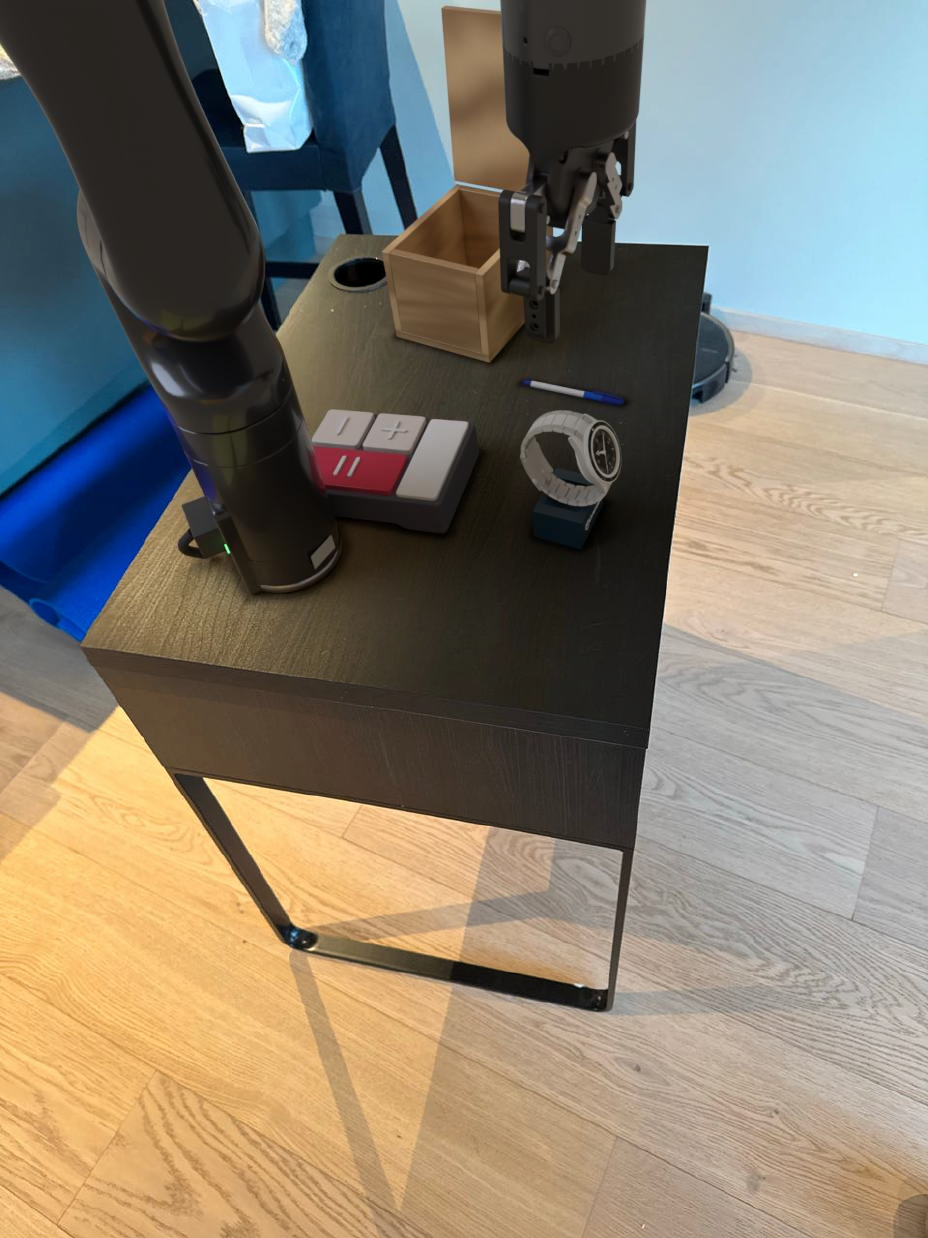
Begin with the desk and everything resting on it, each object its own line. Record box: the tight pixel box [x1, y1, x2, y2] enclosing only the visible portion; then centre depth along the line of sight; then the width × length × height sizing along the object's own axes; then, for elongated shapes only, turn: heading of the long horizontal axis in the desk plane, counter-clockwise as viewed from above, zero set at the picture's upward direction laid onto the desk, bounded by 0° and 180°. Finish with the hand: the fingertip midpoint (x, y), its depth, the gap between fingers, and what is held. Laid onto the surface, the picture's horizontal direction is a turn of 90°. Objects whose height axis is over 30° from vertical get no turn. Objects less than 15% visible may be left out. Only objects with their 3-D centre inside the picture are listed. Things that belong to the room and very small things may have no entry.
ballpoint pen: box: [523, 379, 625, 406], centre depth 83 cm, size 10×1×1 cm, turn 67°
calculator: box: [310, 408, 480, 534], centre depth 77 cm, size 11×4×15 cm
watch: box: [519, 409, 622, 550], centre depth 69 cm, size 6×8×11 cm
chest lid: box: [440, 5, 529, 191], centre depth 84 cm, size 16×12×5 cm
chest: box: [381, 183, 554, 364], centre depth 90 cm, size 15×12×10 cm
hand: (570, 303), depth 57 cm, fingers open, 8 cm apart
